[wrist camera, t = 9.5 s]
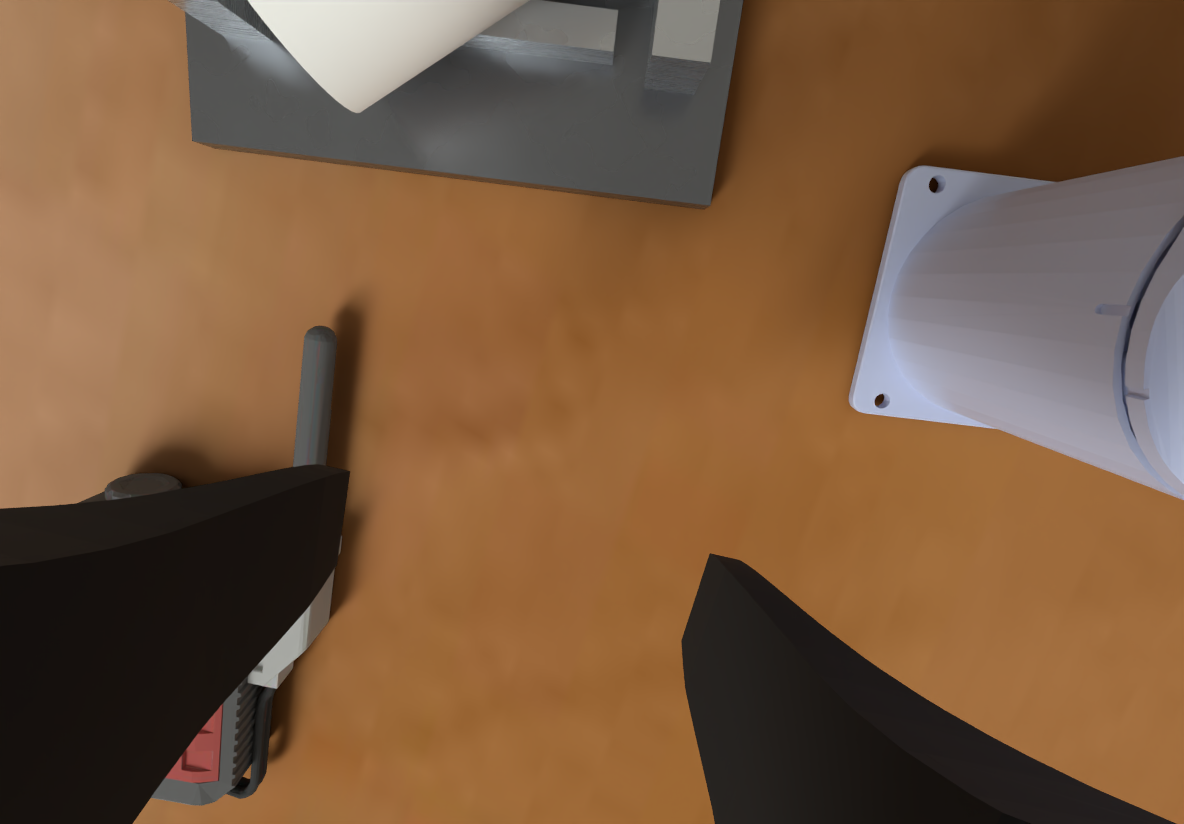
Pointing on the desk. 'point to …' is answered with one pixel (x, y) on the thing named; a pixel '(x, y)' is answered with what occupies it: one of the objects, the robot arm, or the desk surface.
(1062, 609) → the desk surface
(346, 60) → the paper roll
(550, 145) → the roll cradle
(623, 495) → the desk surface
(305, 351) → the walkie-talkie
